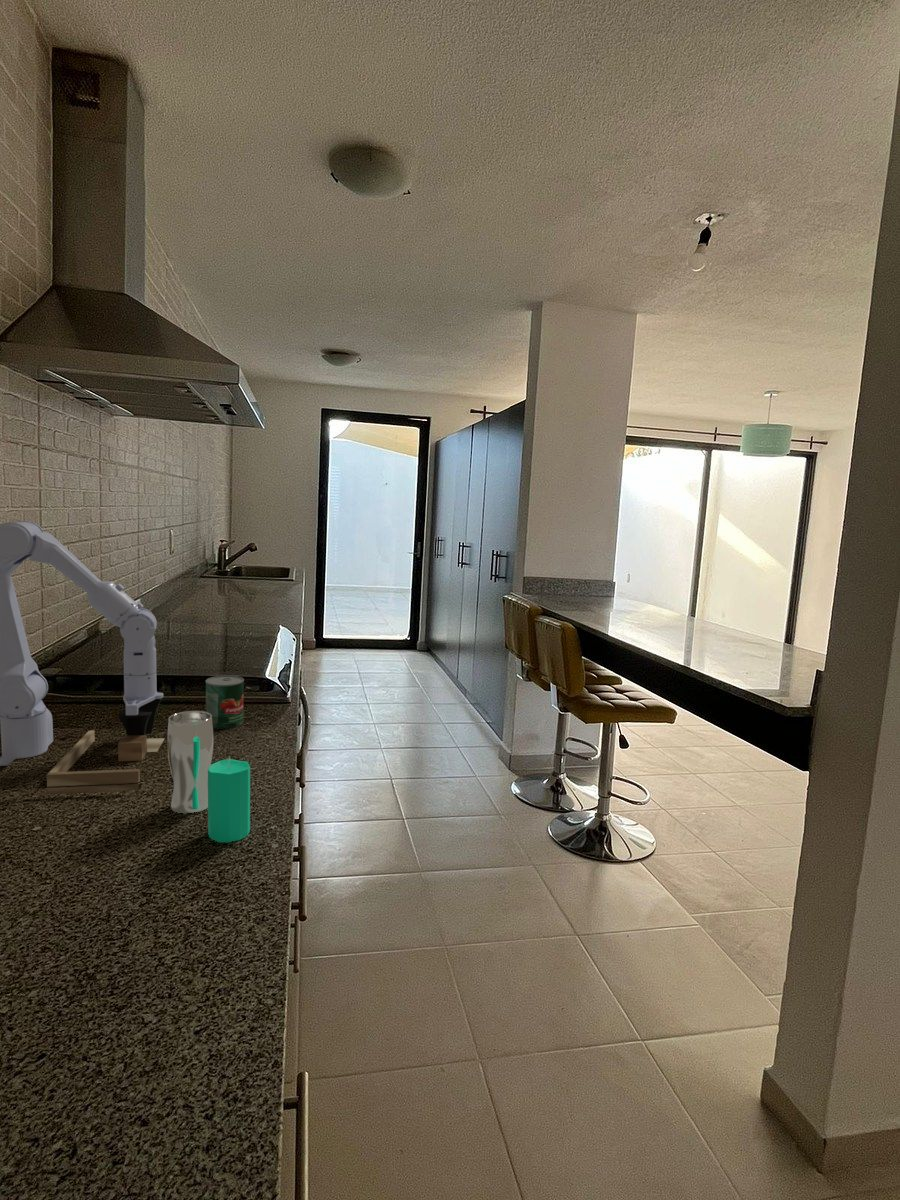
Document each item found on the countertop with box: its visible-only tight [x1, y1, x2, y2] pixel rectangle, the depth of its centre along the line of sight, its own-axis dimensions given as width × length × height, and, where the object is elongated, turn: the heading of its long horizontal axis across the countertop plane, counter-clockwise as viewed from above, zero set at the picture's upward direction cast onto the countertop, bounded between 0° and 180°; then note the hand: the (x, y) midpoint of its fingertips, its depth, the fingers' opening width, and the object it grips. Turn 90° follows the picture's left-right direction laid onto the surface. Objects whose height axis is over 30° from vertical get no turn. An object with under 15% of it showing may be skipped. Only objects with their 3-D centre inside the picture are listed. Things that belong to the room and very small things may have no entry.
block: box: [117, 734, 148, 762], centre depth 123 cm, size 4×4×4 cm
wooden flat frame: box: [46, 729, 166, 795], centre depth 121 cm, size 22×14×3 cm, turn 12°
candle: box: [207, 756, 251, 843], centre depth 98 cm, size 6×6×12 cm
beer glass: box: [166, 710, 214, 815], centre depth 106 cm, size 7×7×15 cm
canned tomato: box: [205, 675, 245, 730], centre depth 144 cm, size 8×8×11 cm
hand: (141, 739), depth 129 cm, fingers open, 7 cm apart
